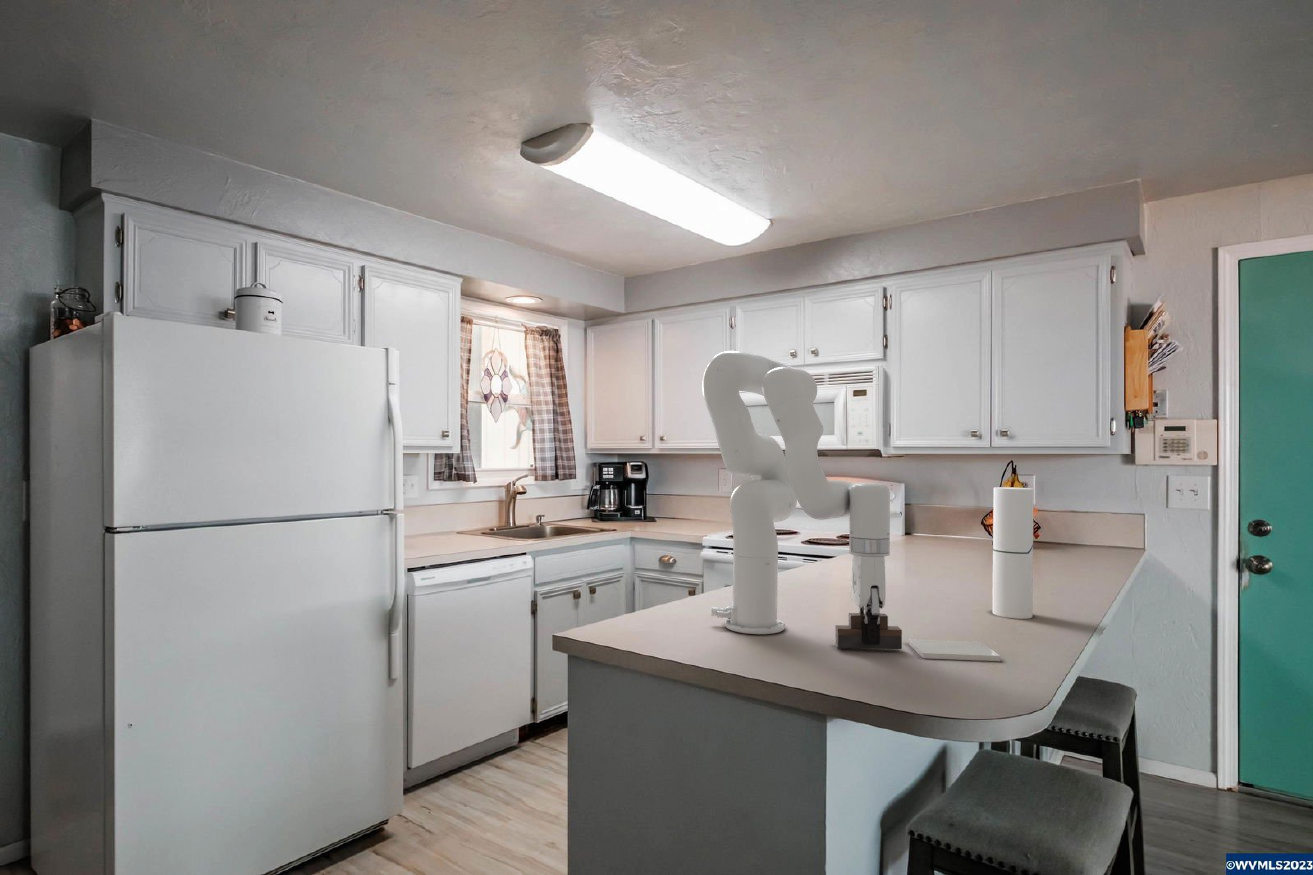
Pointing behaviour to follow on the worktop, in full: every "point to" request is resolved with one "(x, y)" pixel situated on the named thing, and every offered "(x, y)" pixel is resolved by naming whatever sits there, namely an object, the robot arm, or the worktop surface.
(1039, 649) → the worktop surface
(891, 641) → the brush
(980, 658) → the tile
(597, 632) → the worktop surface
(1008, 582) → the container
